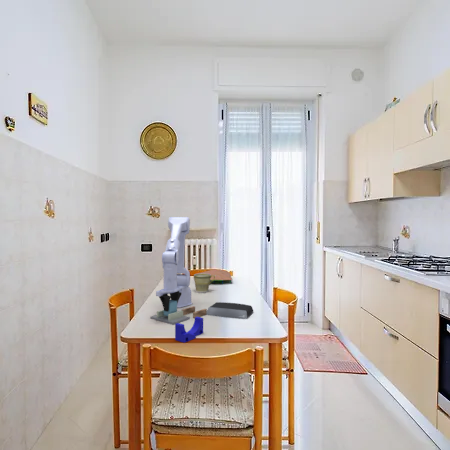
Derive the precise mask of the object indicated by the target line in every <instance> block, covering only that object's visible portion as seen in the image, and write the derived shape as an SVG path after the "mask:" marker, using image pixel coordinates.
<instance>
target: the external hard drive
mask: <svg viewBox="0 0 450 450" xmlns="http://www.w3.org/2000/svg"><path fill="white" fill-rule="evenodd" d="M253 313H254V309H253V306H252V305H250V304H243V303H238V302H237V303H235V302H221V301H220V302H219V301H217V302H215V303H213V304H212V305H210V306H209V307H207V313H206V315H205V316H211V317H219V318H226V319H238V320H248V319H249V318H250V317H251V316H252V315H253Z"/></svg>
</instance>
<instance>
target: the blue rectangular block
mask: <svg viewBox="0 0 450 450" xmlns="http://www.w3.org/2000/svg"><path fill="white" fill-rule="evenodd" d="M175 312H178V307H177V301H175V300H171V299H170V302H169V311H168V312H167V311H164V315H165V316H168V314H171V313H175Z"/></svg>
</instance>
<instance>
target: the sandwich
mask: <svg viewBox="0 0 450 450" xmlns="http://www.w3.org/2000/svg"><path fill="white" fill-rule="evenodd" d="M201 273H203V274H210V275H214V276H215V279H214V276H212V277H211V278H210V282H211V281H212V280H213V279H214V280H213V281H212V282H213V283H214V285H216V284H221V285H223V284H224V281H225V283H228V281H229V283H232V281H233V278H232V275H231V272H229V271H226V270H222V269H216V268H214V269H210V270H205V271H203V272H202V271H201V272H198V273H197V274H201ZM212 282H211V283H210V284H212ZM210 284H209V285H210Z"/></svg>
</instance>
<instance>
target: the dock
mask: <svg viewBox="0 0 450 450" xmlns="http://www.w3.org/2000/svg"><path fill="white" fill-rule="evenodd" d="M149 319H152V320H154V321H158V322H163V323H166V324H170V325H173V326H175V324H177V323H180V324H181V323H182V322H184V321H188V320H190V319H191V317H190V316H186V315H183V311H182V309H180V310H179V311H178V310H177V312H175V313H171V314H168V316H165V315H164V309H161V310H158V311H156V314H155V315H150V318H149Z"/></svg>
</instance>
